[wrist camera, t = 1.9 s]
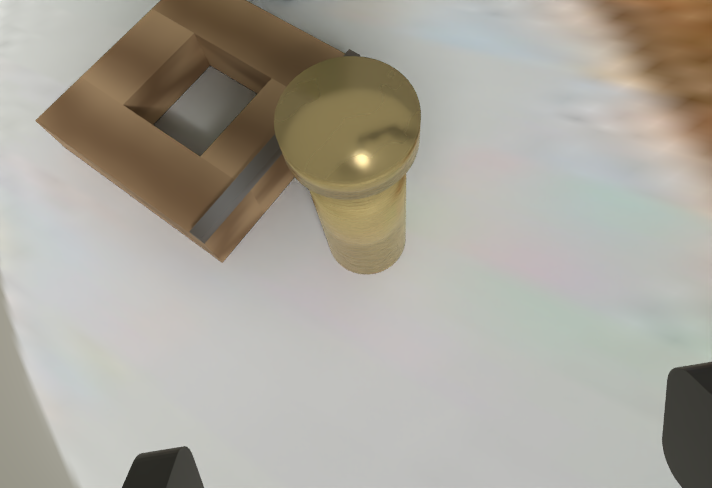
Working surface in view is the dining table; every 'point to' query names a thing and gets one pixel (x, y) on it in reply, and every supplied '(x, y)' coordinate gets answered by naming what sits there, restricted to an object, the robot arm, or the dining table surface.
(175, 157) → the jig
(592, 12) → the dining table surface
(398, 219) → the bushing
